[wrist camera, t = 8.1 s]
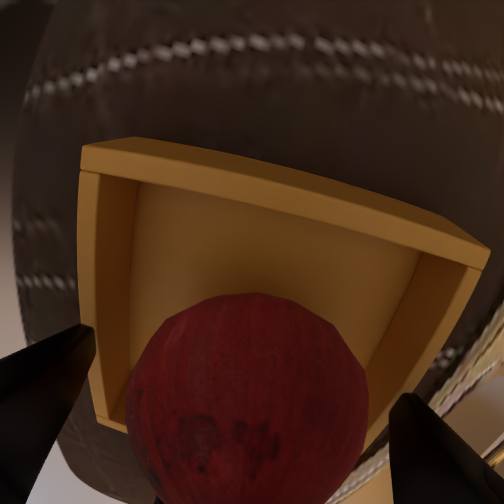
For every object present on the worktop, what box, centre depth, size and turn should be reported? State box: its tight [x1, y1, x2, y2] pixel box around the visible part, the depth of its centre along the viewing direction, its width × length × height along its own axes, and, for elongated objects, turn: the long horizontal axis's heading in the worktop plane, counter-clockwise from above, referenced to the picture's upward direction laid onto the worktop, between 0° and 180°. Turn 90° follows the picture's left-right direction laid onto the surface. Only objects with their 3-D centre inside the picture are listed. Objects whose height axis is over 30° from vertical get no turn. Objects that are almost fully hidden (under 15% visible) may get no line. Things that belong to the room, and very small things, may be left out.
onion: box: [125, 292, 369, 504], centre depth 7 cm, size 6×6×8 cm
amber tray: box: [77, 136, 491, 454], centre depth 10 cm, size 10×10×3 cm
